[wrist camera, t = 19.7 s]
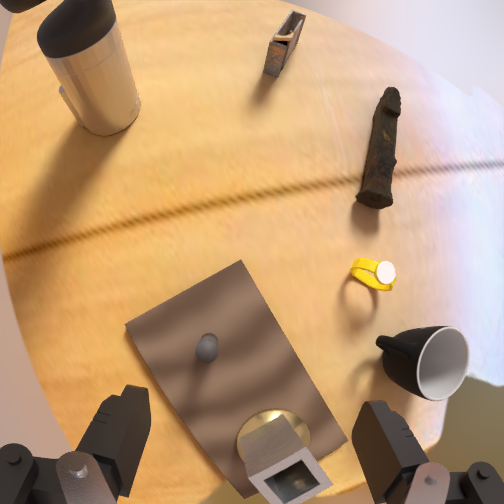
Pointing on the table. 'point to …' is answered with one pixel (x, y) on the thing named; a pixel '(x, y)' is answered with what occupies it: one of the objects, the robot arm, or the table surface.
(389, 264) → the watch
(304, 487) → the open-top grey box
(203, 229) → the table surface
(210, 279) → the walnut stand board
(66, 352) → the table surface
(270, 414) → the disc
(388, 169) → the hand tool
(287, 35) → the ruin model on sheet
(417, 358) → the mug
